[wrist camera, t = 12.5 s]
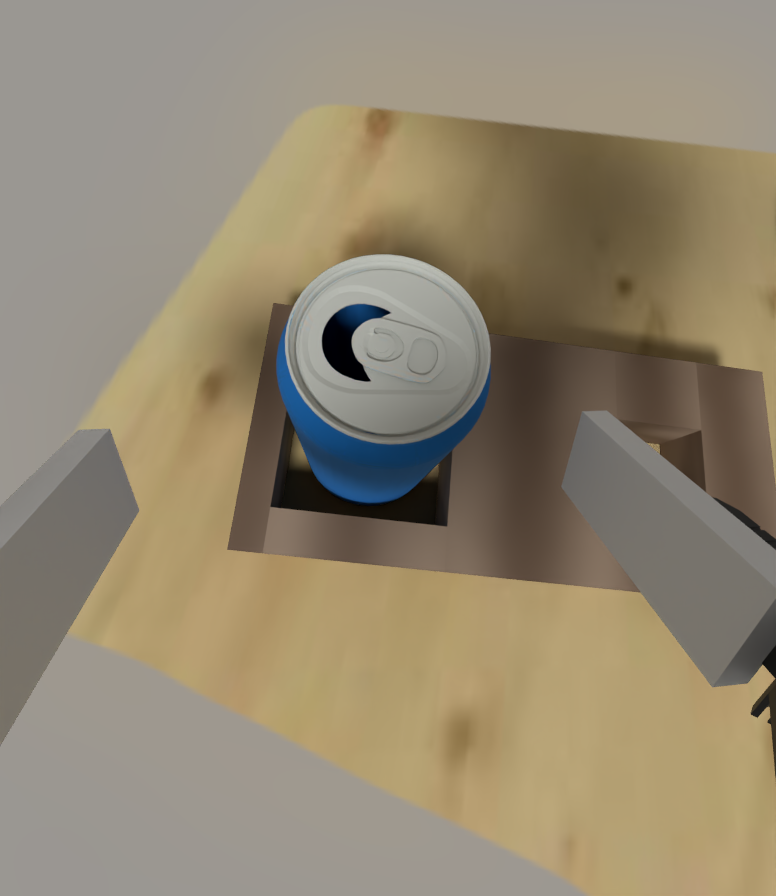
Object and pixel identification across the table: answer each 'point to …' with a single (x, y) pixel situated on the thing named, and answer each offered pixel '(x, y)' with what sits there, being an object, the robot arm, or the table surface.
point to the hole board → (523, 464)
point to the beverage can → (382, 374)
